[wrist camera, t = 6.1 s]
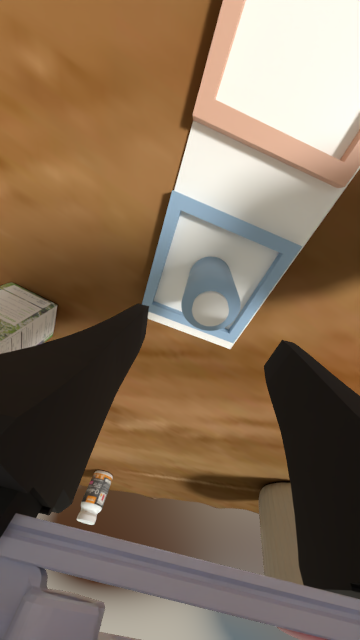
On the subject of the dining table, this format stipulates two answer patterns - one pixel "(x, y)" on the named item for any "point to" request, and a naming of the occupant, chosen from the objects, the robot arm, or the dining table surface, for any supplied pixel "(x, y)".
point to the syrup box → (24, 318)
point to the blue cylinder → (210, 295)
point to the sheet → (256, 167)
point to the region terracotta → (254, 130)
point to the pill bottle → (94, 497)
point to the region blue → (233, 225)
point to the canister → (280, 539)
